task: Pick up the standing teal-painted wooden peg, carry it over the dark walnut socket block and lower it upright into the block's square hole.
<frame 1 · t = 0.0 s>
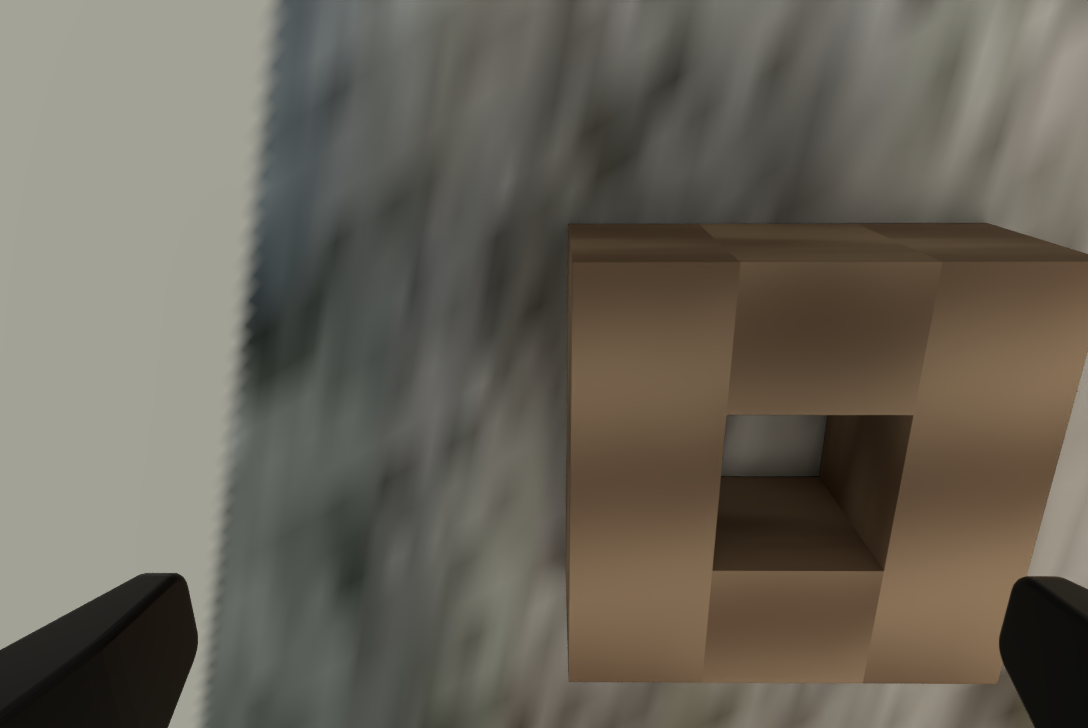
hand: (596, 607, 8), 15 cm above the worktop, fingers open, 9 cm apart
socket block: (756, 414, 23), on the worktop
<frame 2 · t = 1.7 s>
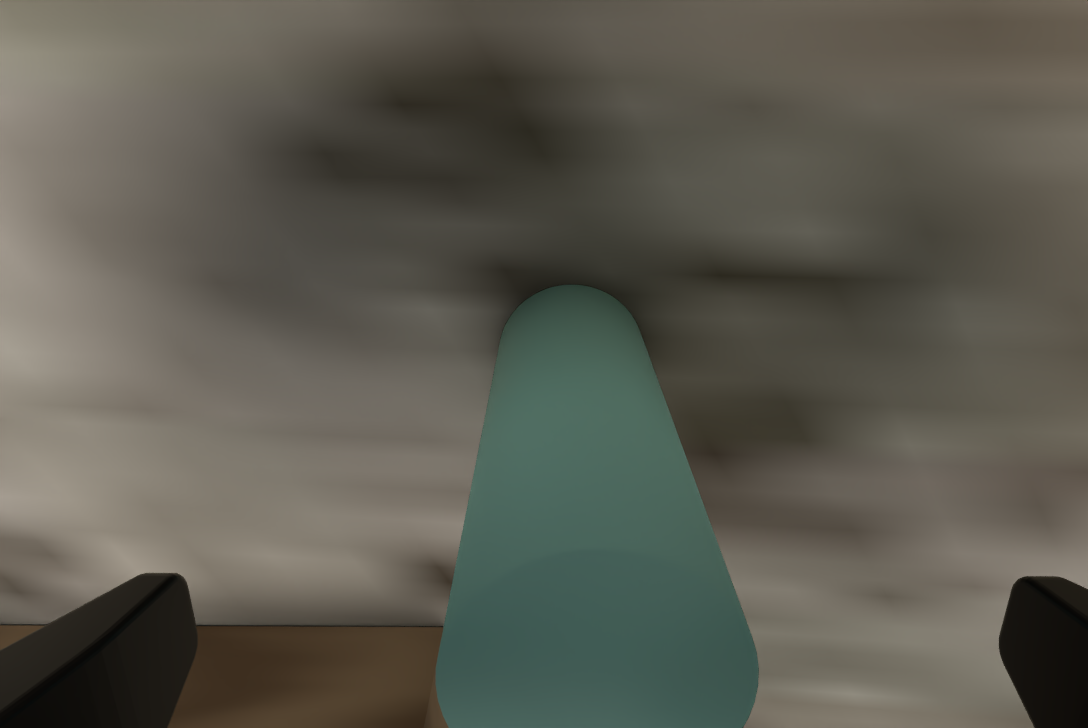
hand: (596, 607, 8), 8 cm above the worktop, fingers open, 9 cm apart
peg: (570, 354, 15), on the worktop
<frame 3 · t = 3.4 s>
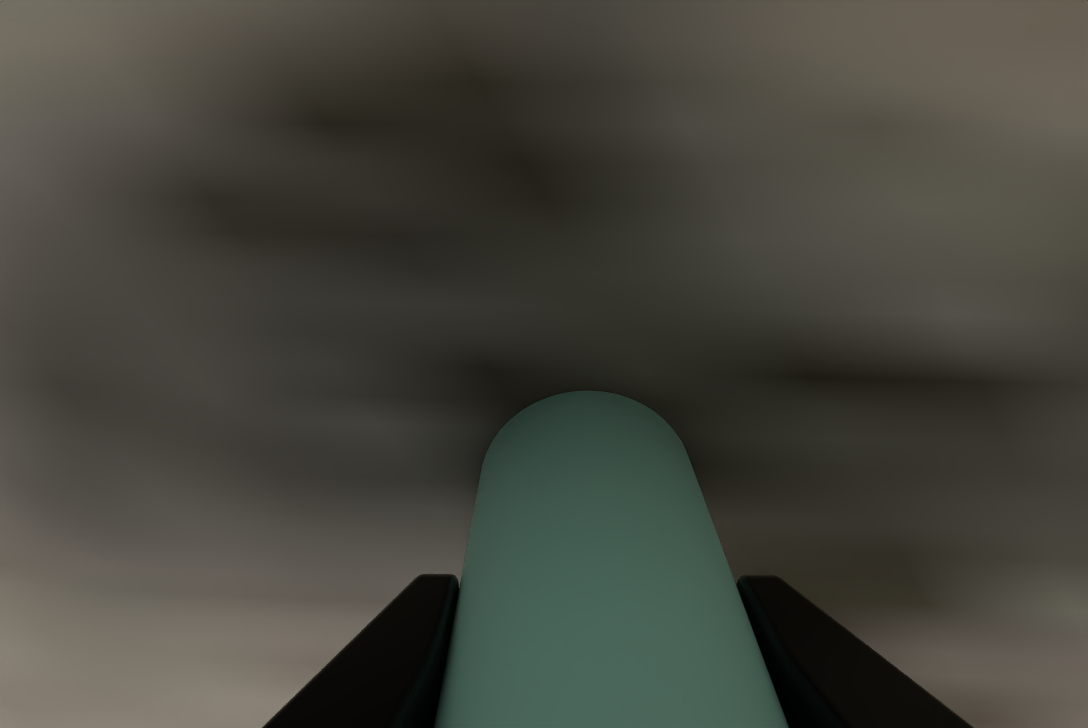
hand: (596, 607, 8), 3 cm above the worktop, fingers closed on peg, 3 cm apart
peg: (585, 488, 10), on the worktop, touching gripper
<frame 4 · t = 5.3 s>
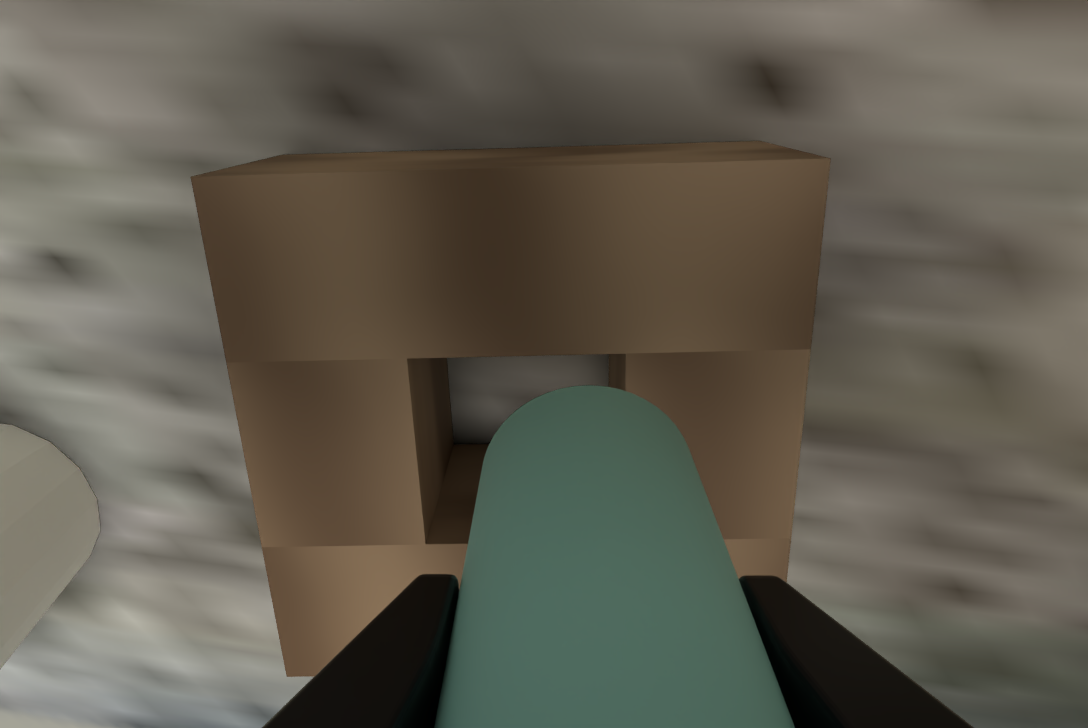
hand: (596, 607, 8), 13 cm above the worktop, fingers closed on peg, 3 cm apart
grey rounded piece: (11, 501, 22), on the worktop
peg: (587, 483, 10), point 10 cm above the worktop, touching gripper
socket block: (528, 370, 21), on the worktop
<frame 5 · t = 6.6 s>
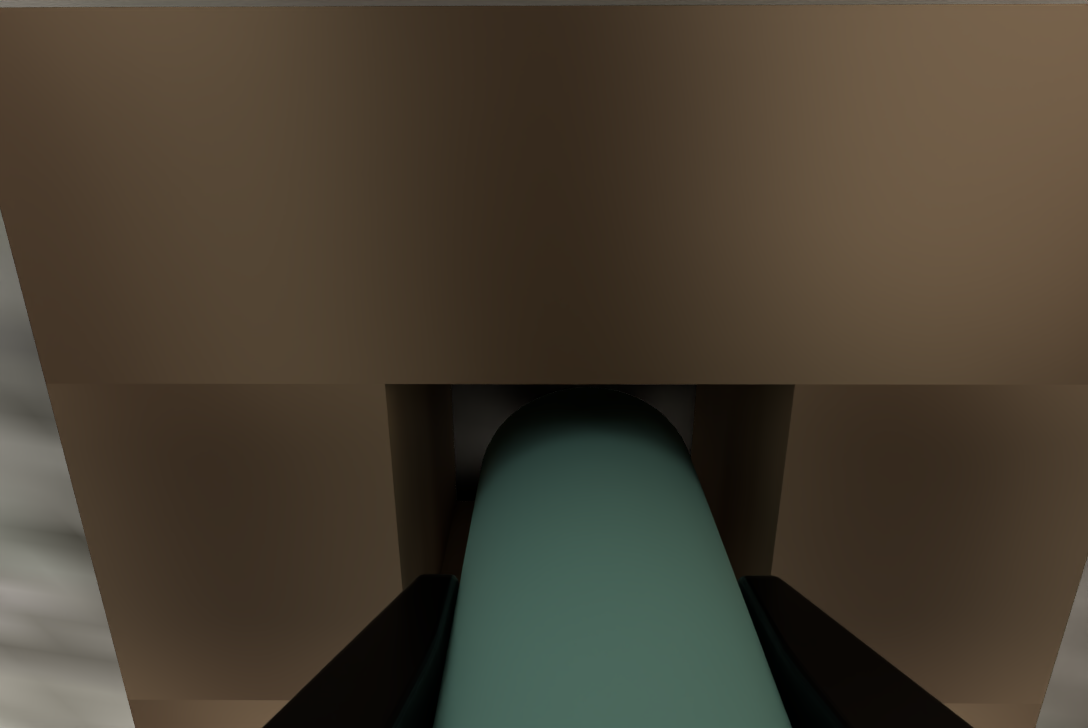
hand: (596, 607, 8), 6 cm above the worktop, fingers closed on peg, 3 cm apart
peg: (586, 485, 10), point 3 cm above the worktop, touching gripper
socket block: (573, 394, 14), on the worktop
when the fingers open (5 cm above the worktop, at t = 7.6 s): peg drops 3 cm, resting in socket block.
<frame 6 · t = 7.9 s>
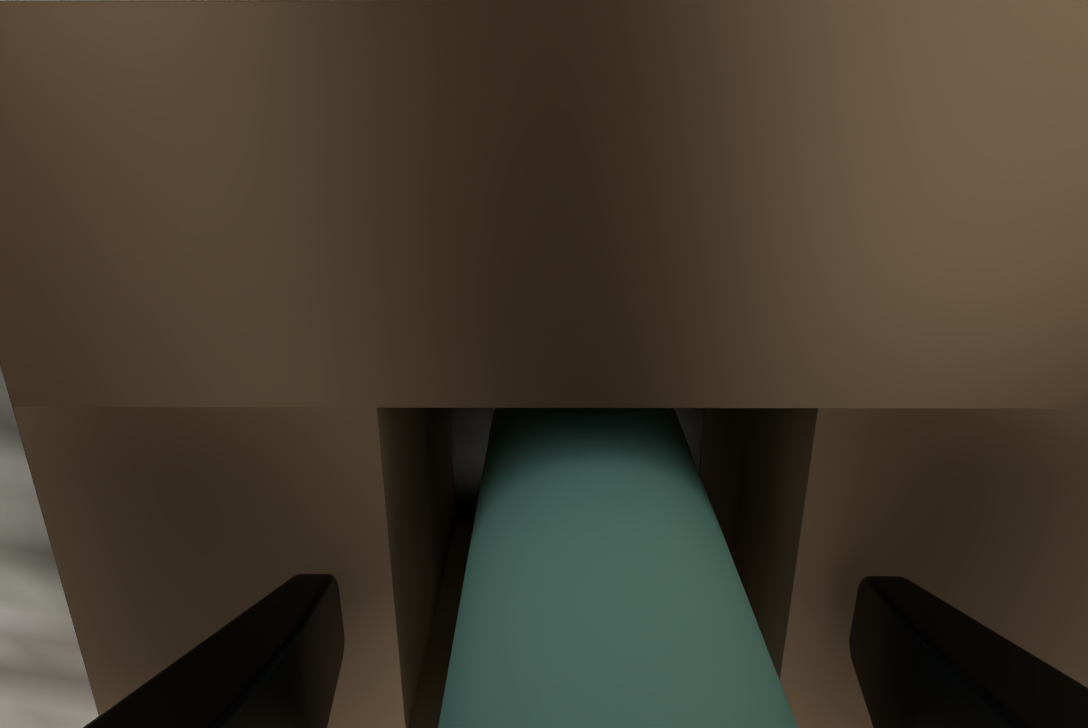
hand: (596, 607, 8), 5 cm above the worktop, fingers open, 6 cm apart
peg: (580, 405, 13), resting in socket block
socket block: (577, 409, 13), on the worktop
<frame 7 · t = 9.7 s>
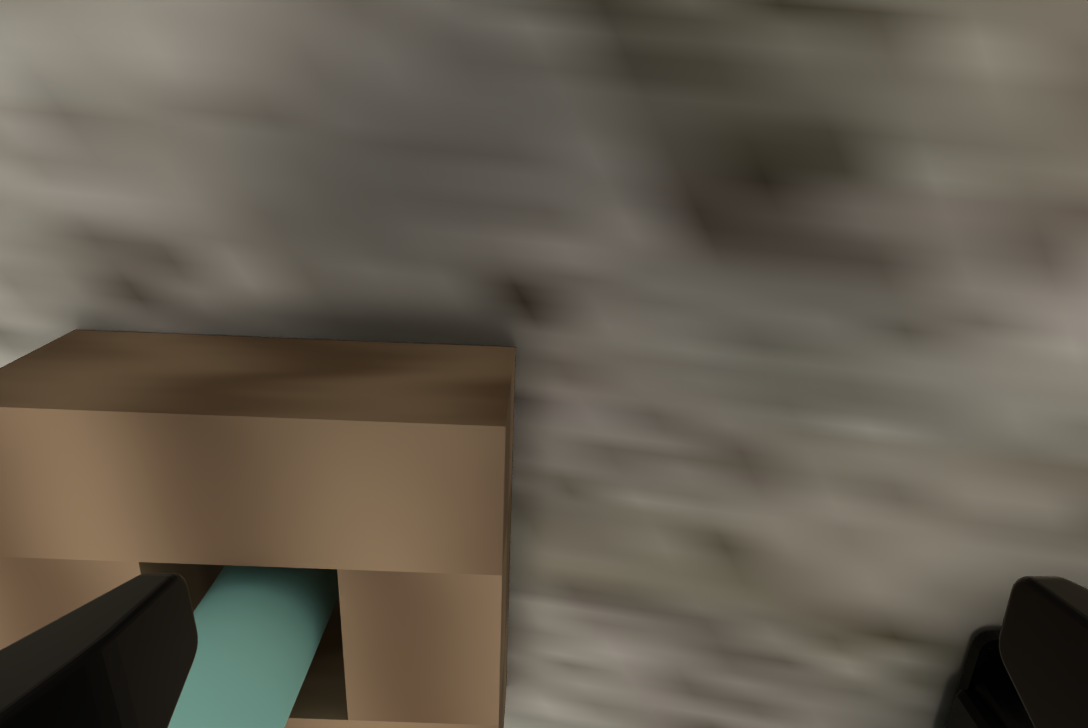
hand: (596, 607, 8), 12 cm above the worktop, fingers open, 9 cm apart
peg: (313, 524, 22), resting in socket block
socket block: (311, 526, 22), on the worktop
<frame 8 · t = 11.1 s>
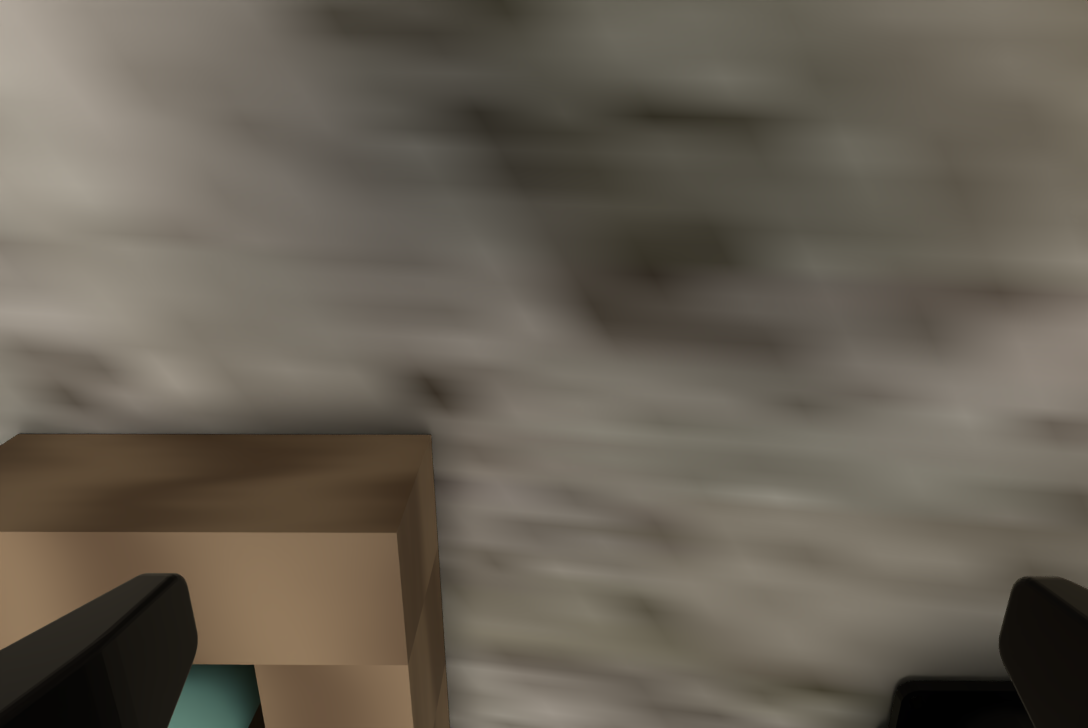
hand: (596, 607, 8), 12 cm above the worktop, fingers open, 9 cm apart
peg: (255, 603, 23), resting in socket block
socket block: (253, 604, 23), on the worktop
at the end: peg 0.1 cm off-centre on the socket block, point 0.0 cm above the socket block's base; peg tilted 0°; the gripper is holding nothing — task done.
